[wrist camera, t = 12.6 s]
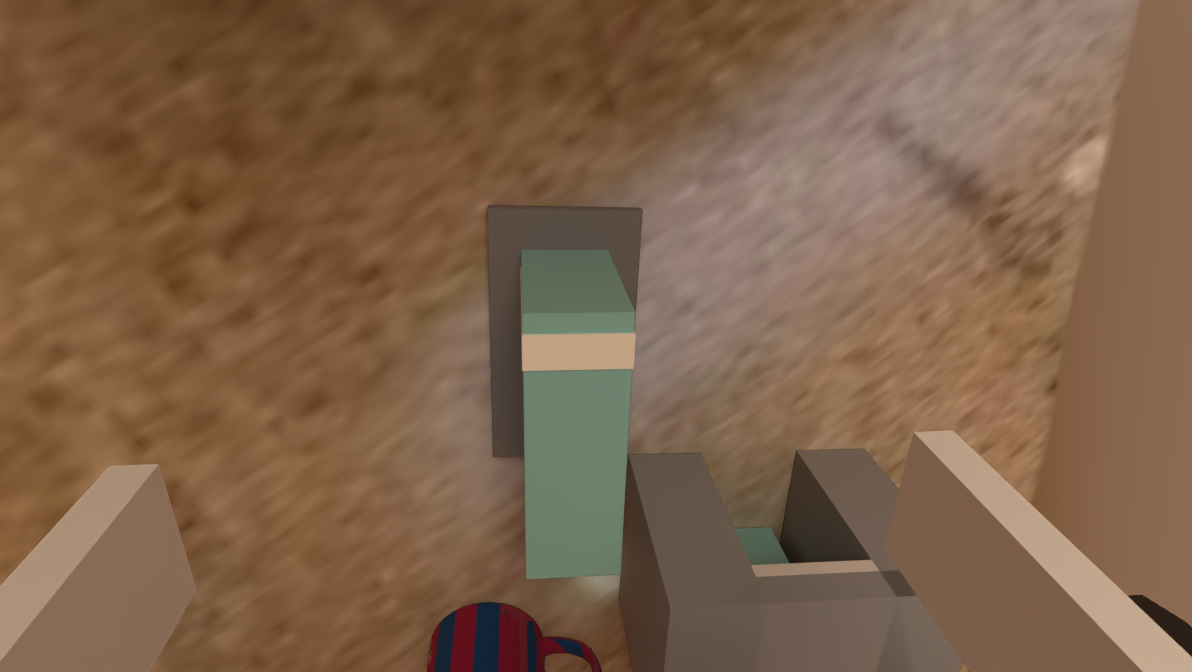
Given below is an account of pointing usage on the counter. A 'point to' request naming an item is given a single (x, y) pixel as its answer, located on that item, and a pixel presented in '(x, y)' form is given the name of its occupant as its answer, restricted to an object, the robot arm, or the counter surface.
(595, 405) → the banded gift box
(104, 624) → the robot arm
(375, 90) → the counter surface
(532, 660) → the mug
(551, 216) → the pad
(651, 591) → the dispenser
